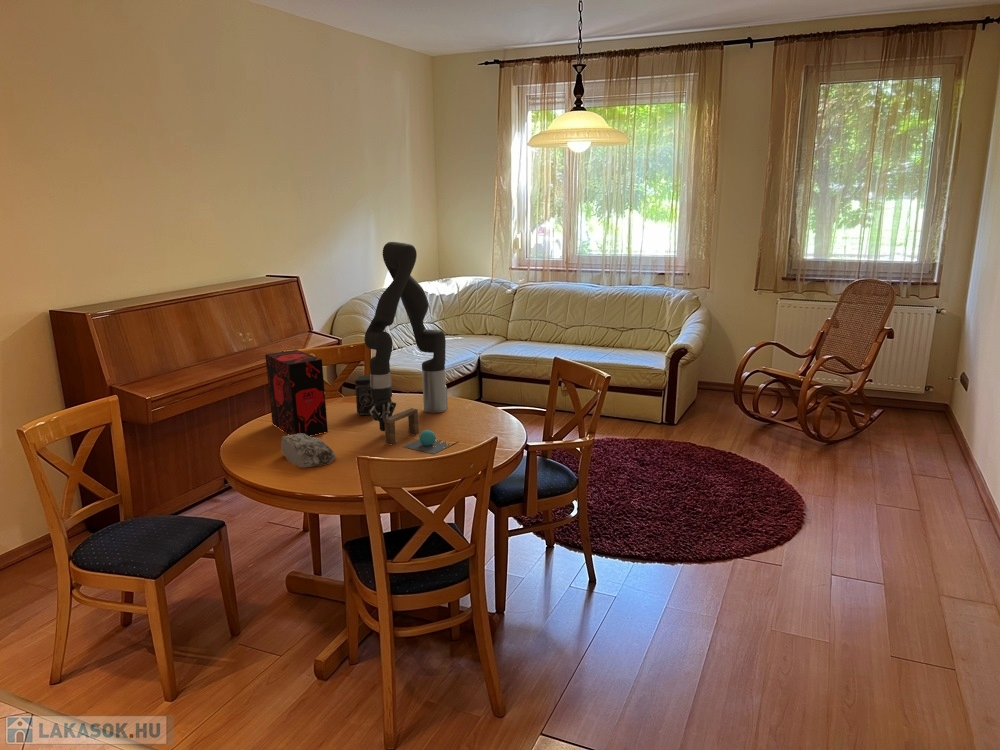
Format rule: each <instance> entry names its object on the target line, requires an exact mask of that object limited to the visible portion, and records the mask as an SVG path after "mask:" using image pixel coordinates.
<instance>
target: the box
mask: <svg viewBox="0 0 1000 750" xmlns="http://www.w3.org/2000/svg"><path fill="white" fill-rule="evenodd" d="M264 356H265V365H266V374H267V385H268V395H269V403H270V412H271V413H270V414H271V415H270V416H271V423H273V424H274V425H276V426H277V427H279V428H280V429H281V430H283V431H284V432H283V431H282V432H283V433H285V432H286V433H287V434H286V433H285V434H286V435H288V434H289V435H294V434H297V433H303V434H306V435H308V436H310V435H315V434H319V433H323V434H325V433H324V432H328V433H329V431H328V417H327V416H328V415H327V406H326V405H327V403H326V393H325V382H324V380H325V379H324V370H323V369H324V368H323V359H322V358H320V357H317V356H314V355H311V354H309V353H306V352H304V351H301V350H299V349H293V350H287V351H278V352H273V353H267V354H265V355H264ZM273 424H272V425H273ZM274 425H273V426H274ZM277 427H276V428H277ZM280 429H279V430H280ZM281 430H280V431H281ZM319 435H320V434H319ZM315 436H316V435H315ZM310 437H311V436H310Z"/></svg>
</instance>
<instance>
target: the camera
mask: <svg viewBox="0 0 1000 750" xmlns="http://www.w3.org/2000/svg"><path fill="white" fill-rule="evenodd" d="M354 382H355V389H354V390H355V401H356V413H357V415H359V416H364V415H366V416H368V415H370V414H369V412H368V410H371V409H372V407H373V399H372V398H371V385H370V375H367V374H366V375H359V376H358V377H357V378H356V379H355V381H354ZM370 416H371V415H370Z"/></svg>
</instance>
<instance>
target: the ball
mask: <svg viewBox="0 0 1000 750" xmlns="http://www.w3.org/2000/svg"><path fill="white" fill-rule="evenodd" d="M436 437H437V436H436V435H435V433H434V432H433V431H432V430H429V429H426V430H423V431H422V432H421V433H420V434H419V438H418V439H420V442H421V443H422V444H423V445H424V446H431V445H432V444H433V443H434V442H435V439H436Z"/></svg>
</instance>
